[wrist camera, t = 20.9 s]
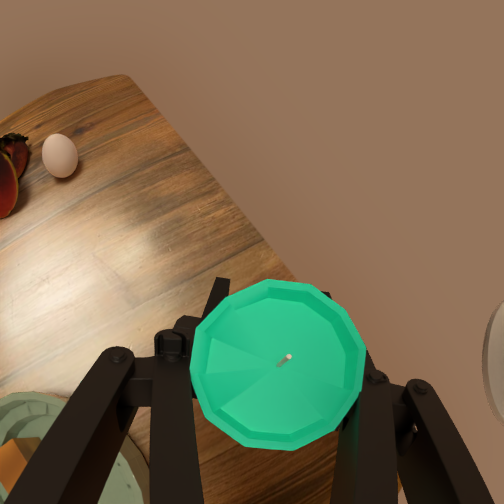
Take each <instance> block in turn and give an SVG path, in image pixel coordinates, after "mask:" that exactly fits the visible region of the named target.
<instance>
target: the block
mask: <svg viewBox="0 0 504 504" xmlns="http://www.w3.org/2000/svg"><path fill="white" fill-rule="evenodd" d="M40 442H41V439H40V438H39V437H30V438H12V439H11V440H9V441H8V442H7V443H6V444H4V445H3V446H2V447H1V448H0V482H1V483H2V485H3V487H4V488H5V490H6V491H7V493H8V494H9V493H10V491H11V490H12V488H13V486H14V485H15V483H16V481H17V480H18V478H19V476H20V475H21V473H22V471H23V470H24V468H25V466H26V465H27V463H28V461H29V460H30V458H31V457H32V455H33V453H34V452H35V450H36V449H37V447H38V446H39V444H40Z"/></svg>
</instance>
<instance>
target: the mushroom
mask: <svg viewBox="0 0 504 504" xmlns="http://www.w3.org/2000/svg"><path fill="white" fill-rule="evenodd" d="M27 140H28V137H24V136H21V134H19V133H18V134H15V133H8V134H6V135H4V136H3V137H2V138H0V218H4V217H6V216H7V215H9V213H10V212H11V210H12V209H13V208H14V206H15V203H16V201H17V197H18V180H17V179H18V178H19V177H20V176H21V174H22V172H23V171H24V168H25V165H26V162H27V155H28V150H29V148H28V146H27V145H26V143H25V142H26V141H27ZM10 155H11V160H10V159H9V157H8V156H10Z"/></svg>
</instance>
